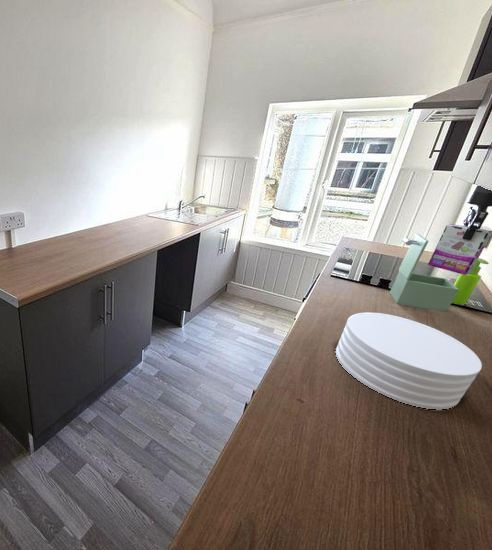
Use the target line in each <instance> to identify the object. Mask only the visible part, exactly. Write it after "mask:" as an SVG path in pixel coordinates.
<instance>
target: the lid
mask: <svg viewBox="0 0 492 550" xmlns="http://www.w3.org/2000/svg"><path fill="white" fill-rule="evenodd" d="M401 241H402V242H403V243H404V244H405V245H406V246H409V248H408V249H407V252H406V253H405V256H404V258H403V260H402V262H401V264H400V266H399V268H398V272H399V271H400V272H401V273H402V274H403V275H404V277H405V278H406V279H408V280H409V279H410V277H411V275H412V273H414V271H415V270H416V268H417V265H418V263H419V261H420V259H421V257H422V255H423V254H424V252H425V250H426V247H427V245H428V244H429V242H430V241H429V240H428V239H426V238H425V237H423V236H422V235H420V234H419V233H415V235H414V237H413V239H410V238H408V237H407V236H406V237H403V238H402V239H401Z"/></svg>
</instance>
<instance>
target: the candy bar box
mask: <svg viewBox="0 0 492 550" xmlns="http://www.w3.org/2000/svg"><path fill="white" fill-rule="evenodd" d="M466 230H467V227H466V226H465V225H464V226H463V225H461V224H460V225H459V224H453V223H450V224H446V225H445V228H444V229H443V232H442V234H441V237H440V238H439V240H438V242H437V245H436V247H435V248H434V251H433V253H432V255H431V257H430V259H429V261H428V263H427V266H430V267H433V268H438V269H441V270H445V271H449V272H453V273H457V274H464V275H467V274H469V273H471V271H472V269H473V267H474V265H475V264H476V262H477V260H478V258H480V256H481V254H482V253H483V250H484V249H485V247H486V246H487V244H488V242H489V240H490V238H491V236H492V230H489V229H483V228H480V229H478V230H476V232H475V234H474V235H473V237H472V239H471V240H464V239H463V238H462V237H463V235H464V233H465V232H466Z"/></svg>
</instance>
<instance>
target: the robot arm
mask: <svg viewBox="0 0 492 550" xmlns="http://www.w3.org/2000/svg"><path fill="white" fill-rule="evenodd" d="M466 203H467V204H468V205H473V206H469V208H468V211H467V213H466V215H465V217H464V219H463V221H462V226H466V227H467V230H466V232H465V233H464V235H463V237H462V238H463V239H464V240H471V239H472V237H473V235H474V234H475V232H476V230H478V229H482V228H481V227H482V226H483V224H484V222H485V221H486V219H487V217H488V216H489V211H488V208H489V207H492V191H491V190H488V189H485V188H483V187H481V186H477V185H476V184H475V185H474V187H473V189H472V191H471V192H470V194H469V197H468V199H467V200H466Z"/></svg>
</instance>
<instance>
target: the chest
mask: <svg viewBox="0 0 492 550" xmlns="http://www.w3.org/2000/svg"><path fill="white" fill-rule="evenodd" d="M458 290H459V289H458V288H457V287H455V286H454V283H452V282H451V281H450V280H448V279H447V278H444V277H439V276H432V275H427V274H420V273H414V272H413V273H412V275H411V277H410V279H409V280H408V279H406V278H405V277H404V275H403V274H402V273H401V272H400V271H399V270H398V273H397V275H396V278H395V280H394V282H393V284H392V286H391V288H390V290H389V294H390V296H391V297H392V298H393V301H395V303H396V304H397V305H402V306H407V307H413V308H416V309H417V308H418V309H422V310H429V309H430V310H434V311H440V312H443V313H444V312H445V313H447V312H448V310H449V308H450V306H451V304H453V303H452V301H453V299H454V297H455V296H456V294H457V292H458Z"/></svg>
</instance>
